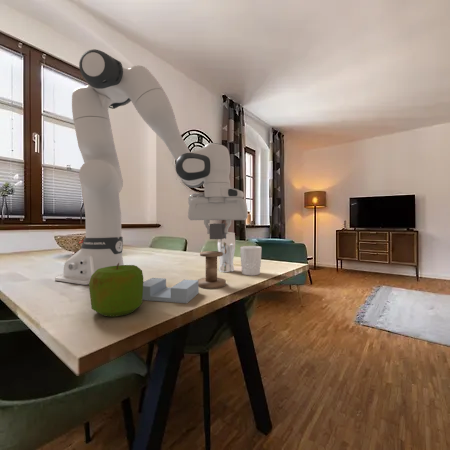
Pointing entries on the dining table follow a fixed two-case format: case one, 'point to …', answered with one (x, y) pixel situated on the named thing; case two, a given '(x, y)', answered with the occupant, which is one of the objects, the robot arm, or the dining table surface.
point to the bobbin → (211, 271)
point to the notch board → (169, 290)
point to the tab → (217, 231)
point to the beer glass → (227, 252)
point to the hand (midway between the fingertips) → (217, 233)
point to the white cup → (250, 260)
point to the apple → (116, 290)
